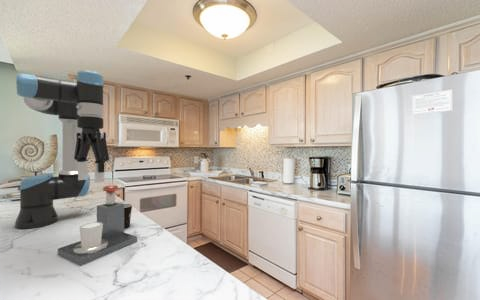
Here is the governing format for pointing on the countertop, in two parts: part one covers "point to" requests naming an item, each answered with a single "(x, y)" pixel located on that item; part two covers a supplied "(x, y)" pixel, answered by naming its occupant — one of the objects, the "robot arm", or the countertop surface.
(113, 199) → the ram
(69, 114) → the robot arm
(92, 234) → the white tapered cup
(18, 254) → the countertop surface
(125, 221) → the coffee mug
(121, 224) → the press
